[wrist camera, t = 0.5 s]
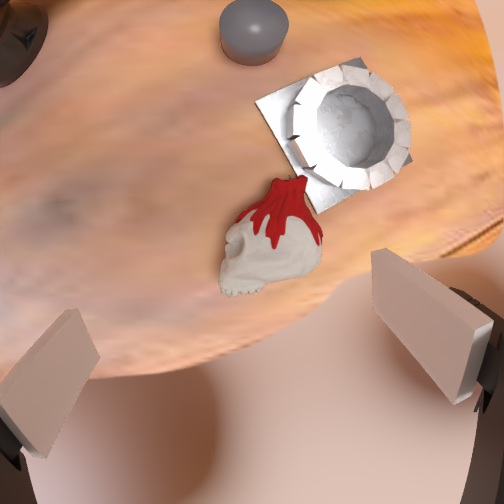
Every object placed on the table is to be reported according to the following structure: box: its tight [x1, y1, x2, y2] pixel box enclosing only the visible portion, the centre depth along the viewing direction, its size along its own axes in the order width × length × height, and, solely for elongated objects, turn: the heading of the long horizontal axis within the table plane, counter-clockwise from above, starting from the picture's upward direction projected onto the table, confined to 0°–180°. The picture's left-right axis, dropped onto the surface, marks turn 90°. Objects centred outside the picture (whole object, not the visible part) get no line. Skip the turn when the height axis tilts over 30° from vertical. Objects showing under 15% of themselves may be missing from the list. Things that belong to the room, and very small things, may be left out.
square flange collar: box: [255, 57, 412, 214], centre depth 32 cm, size 16×16×6 cm
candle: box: [218, 174, 323, 297], centre depth 34 cm, size 9×11×15 cm
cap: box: [219, 0, 289, 66], centre depth 28 cm, size 8×8×6 cm
